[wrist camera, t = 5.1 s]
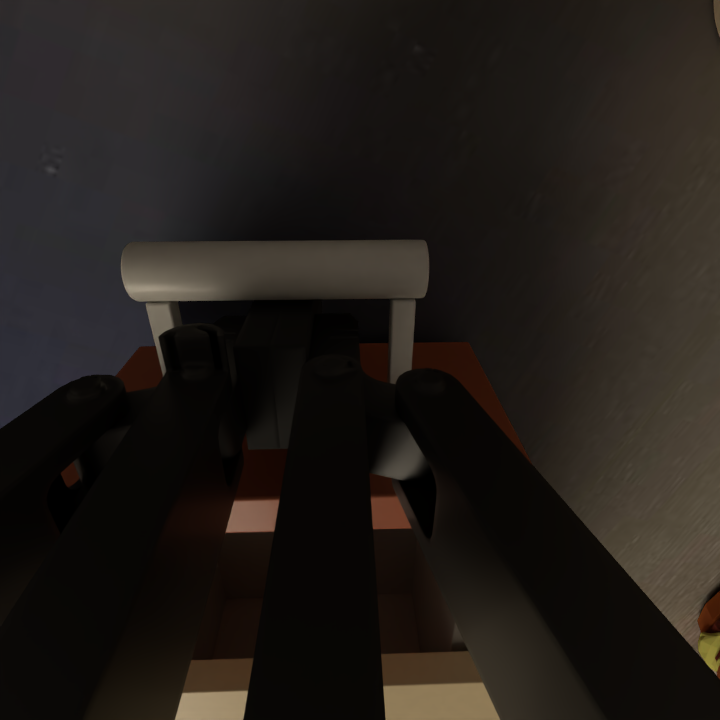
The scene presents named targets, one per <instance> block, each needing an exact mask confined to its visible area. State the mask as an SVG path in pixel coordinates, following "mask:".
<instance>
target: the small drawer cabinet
mask: <svg viewBox="0 0 720 720" xmlns="http://www.w3.org/2000/svg"><path fill="white" fill-rule="evenodd" d="M381 658H382V673H383V688H384V703H385V719H386V720H500V718H499V716H498V714H497V712H496V710H495V708H494V705H493V703H492V701H491V699H490V697H489V695H488V692H487V690H486V688H485V686H484V684H483V682H482V679H481V677H480V675H479V673H478V671H477V669H476V666H475V664H474V662H473V660H472V658H471V656H470V653H469V651H457V652H426V653H396V654H381ZM252 664H253V658H243V659H212V660H191V663H190V666H189V670H188V674H187V677H186V681H185V685H184V689H183V692H182V696H181V700H180V703H179V707H178V711H177V715H176V718H175V720H243V718H244V712H245V706H246V700H247V694H248V688H249V682H250V676H251V670H252Z"/></svg>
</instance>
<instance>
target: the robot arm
mask: <svg viewBox="0 0 720 720" xmlns="http://www.w3.org/2000/svg"><path fill="white" fill-rule="evenodd" d="M158 339H159V343H160V347H161V352H162V356H163V360H164V364H165V368H166V373H165V374H164V376H163V378H162V379H161V381H160V382H159V384H158V385H157V386H156V387H152V388H147V389H142V390H136V391H131V392H126V388H125V385H124V382H123V381H122V380H121V379H120V378H119V377H115V376H112V375H91V376H84V377H81V378H80V379H77V380H75V381H72V382H69V383H68V384H66V385H64V386H62V387H60V388H58V389H57V390H56V391H54V392H53V393H51V394H50V395H48V396H47V397H46V398H44V399H43V400H41V401H40V402H38V403H37V404H35V405H34V406H33V407H31V408H30V409H28V410H27V411H25V412H24V413H23V414H21V415H20V416H18V417H17V418H15V419H14V420H13V421H11V422H10V423H8V424H7V425H5V426H4V427H2V428H1V429H0V720H175V718H176V715H177V711H178V707H179V703H180V700H181V696H182V692H183V689H184V685H185V681H186V677H187V674H188V670H189V666H190V663H191V659H192V655H193V652H194V648H195V644H196V640H197V637H198V633H199V629H200V626H201V622H202V618H203V615H204V611H205V607H206V603H207V600H208V596H209V592H210V589H211V585H212V581H213V577H214V574H215V570H216V566H217V563H218V559H219V555H220V552H221V548H222V544H223V540H224V537H225V533H226V529H227V526H228V522H229V518H230V515H231V511H232V507H233V503H234V500H235V496H236V492H237V489H238V485H239V481H240V478H241V474H242V470H243V466H244V456H243V449H242V443H243V440H244V436H245V433H246V438H247V444H248V450H256V449H288V451H287V457H286V463H285V469H284V475H283V481H282V487H281V493H280V499H279V505H278V512H277V518H276V524H275V530H274V536H273V542H272V548H271V554H270V560H269V566H268V572H267V578H266V585H265V591H264V597H263V603H262V609H261V615H260V621H259V627H258V633H257V639H256V645H255V651H254V657H253V664H252V670H251V676H250V682H249V688H248V694H247V700H246V706H245V712H244V718H243V720H386V719H385V703H384V688H383V673H382V658H381V643H380V628H379V612H378V597H377V582H376V567H375V552H374V536H373V521H372V506H371V491H370V476H369V473H372V474H376V475H381V476H385V477H389V478H391V480H392V486H393V489H394V491H395V493H396V495H397V497H398V500H399V502H400V504H401V506H402V508H403V510H404V513H405V515H406V517H407V519H408V521H409V523H410V526H411V528H412V530H413V532H414V534H415V536H416V539H417V541H418V543H419V545H420V547H421V549H422V552H423V554H424V556H425V558H426V560H427V562H428V565H429V567H430V569H431V571H432V573H433V575H434V578H435V580H436V582H437V584H438V586H439V588H440V591H441V593H442V595H443V597H444V599H445V601H446V604H447V606H448V608H449V610H450V612H451V614H452V617H453V619H454V621H455V623H456V625H457V627H458V630H459V632H460V634H461V636H462V638H463V640H464V643H465V645H466V647H467V649H468V651H469V653H470V656H471V658H472V660H473V662H474V664H475V666H476V669H477V671H478V673H479V675H480V677H481V679H482V682H483V684H484V686H485V688H486V690H487V692H488V695H489V697H490V699H491V701H492V703H493V705H494V708H495V710H496V712H497V714H498V716H499V718H500V720H720V679H719V678H718V677H717V676H716V674H715V673H714V672H713V671H712V670H711V669H710V667H709V666H708V665H707V664H706V663H705V662H704V661H703V659H702V658H701V657H700V656H699V655H698V654H697V653H696V651H695V650H694V649H693V648H692V647H691V646H690V645H689V643H688V642H687V641H686V640H685V639H684V638H683V637H682V635H681V634H680V633H679V632H678V631H677V630H676V629H675V627H674V626H673V625H672V624H671V623H670V622H669V621H668V619H667V618H666V617H665V616H664V615H663V614H662V613H661V611H660V610H659V609H658V608H657V607H656V606H655V605H654V603H653V602H652V601H651V600H650V599H649V598H648V597H647V595H646V594H645V593H644V592H643V591H642V590H641V589H640V587H639V586H638V585H637V584H636V583H635V582H634V581H633V579H632V578H631V577H630V576H629V575H628V574H627V573H626V571H625V570H624V569H623V568H622V567H621V566H620V565H619V563H618V562H617V561H616V560H615V559H614V558H613V557H612V555H611V554H610V553H609V552H608V551H607V550H606V549H605V547H604V546H603V545H602V544H601V543H600V542H599V541H598V539H597V538H596V537H595V536H594V535H593V534H592V533H591V531H590V530H589V529H588V528H587V527H586V526H585V524H584V523H583V522H582V521H581V520H580V519H579V518H578V516H577V515H576V514H575V513H574V512H573V511H572V510H571V508H570V507H569V506H568V505H567V504H566V503H565V502H564V500H563V499H562V498H561V497H560V496H559V495H558V494H557V492H556V491H555V490H554V489H553V488H552V487H551V486H550V484H549V483H548V482H547V481H546V480H545V479H544V478H543V476H542V475H541V474H540V473H539V472H538V471H537V470H536V468H535V467H534V466H533V465H532V464H531V463H530V462H529V460H528V459H527V458H526V457H525V456H524V455H523V454H522V452H521V451H520V450H519V449H518V448H517V447H516V446H515V444H514V443H513V442H512V441H511V440H510V439H509V438H508V436H507V435H506V434H505V433H504V432H503V431H502V430H501V428H500V427H499V426H498V425H497V424H496V423H495V422H494V420H493V419H492V418H491V417H490V416H489V415H488V414H487V412H486V411H485V410H484V409H483V408H482V407H481V406H480V404H479V403H478V402H477V401H476V400H475V399H474V398H473V396H472V395H471V394H470V393H469V392H468V391H467V390H466V388H465V387H464V386H463V385H462V384H461V383H460V381H459V380H458V379H456V378H455V377H454V376H452V375H451V374H449V373H446V372H444V371H441V370H438V369H432V368H421V369H413V370H409V371H406V372H404V373H403V374H401V375H400V376H399V377H398V379H397V381H396V384H392V383H387V382H383V381H379V380H376V379H374V378H372V377H370V376H369V375H367V374H366V373H365V372H364V371H363V369H362V366H361V361H360V346H359V331H358V321H357V320H356V319H355V318H354V317H353V316H352V315H351V314H350V313H340V314H322V302H321V299H311V300H254V302H253V304H252V306H251V308H250V310H249V313H248V315H247V316H224V317H223V318H221V319H220V320H218V321H217V322H215V323H214V324H207V323H194V324H185V325H181V326H177V327H174V328H172V329H169V330H167V331H165V332H163V333H162V334H161V335H160V336H159V337H158ZM72 462H73V463H74V466H75V468H76V471H77V473H78V476H79V479H78V480H77V481H76V482H75V483H74V484H73V485H71V486H70V487H67V486H66V485H65V482H64V480H63V478H62V475H61V472H62V471H64V470H65V469H66V468H67V467H68V466H69V465H70V464H71V463H72Z"/></svg>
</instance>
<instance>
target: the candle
mask: <svg viewBox="0 0 720 720" xmlns="http://www.w3.org/2000/svg"><path fill="white" fill-rule="evenodd" d="M714 16H715V23H716V27H717V30H718V34H719V36H720V0H714Z"/></svg>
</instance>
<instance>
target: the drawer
mask: <svg viewBox="0 0 720 720" xmlns="http://www.w3.org/2000/svg"><path fill="white" fill-rule="evenodd" d="M121 274H122V279H123V283H124V286H125V289H126V291H127V293H128V294H129V296H130V297H131V298H132V299H133V300H136V301H148V302H147V303H146V309H147V313H148V317H149V321H150V325H151V329H152V333H153V337H154V341H155V345H156V346H144V347H139V348H138V350H137V351H136V352H135V353H134V354H133V356H132V357H131V358H130V359H129V360H128V362H127V363H126V364H125V365H124V366H123V368H122V369H121V370H120V371H119V372H118V374H117V375H116V376H115V377H119V378H120V379H121V380H122V381H123V382H124V385H125V388H126V392H131V391H136V390H142V389H147V388H152V387H156V386H157V385H158V384H159V382H160V381H161V379H162V378H163V376H164V374H165V373H166V368H165V364H164V360H163V356H162V352H161V347H160V343H159V339H158V337H159V336H160V335H161V334H162V333H163V332H165V331H167V330H169V329H172V328H174V327H177V326H181V325H182V320H181V315H180V310H179V305H178V301H224V300H311V299H390V313H389V342H388V343H359V346H360V361H361V366H362V369H363V371H364V372H365V373H366V374H367V375H369V376H370V377H372V378H374V379H376V380H379V381H383V382H387V383H392V384H396V381H397V379H398V377H399V376H400V375H401V374H403V373H404V372H406V371H409V370H413V369H421V368H432V369H438V370H441V371H444V372H446V373H449V374H451V375H452V376H454V377H455V378H456V379H458V380H459V381H460V383H461V384H462V385H463V386H464V387H465V388H466V390H467V391H468V392H469V393H470V394H471V395H472V396H473V398H474V399H475V400H476V401H477V402H478V403H479V404H480V406H481V407H482V408H483V409H484V410H485V411H486V412H487V414H488V415H489V416H490V417H491V418H492V419H493V420H494V422H495V423H496V424H497V425H498V426H499V427H500V428H501V430H502V431H503V432H504V433H505V434H506V435H507V436H508V438H509V439H510V440H511V441H512V442H513V443H514V444H515V446H516V447H517V448H518V449H519V450H520V451H521V452H522V454H523V455H524V456H525V457H526V458H527V459H528V460H529V462H530V463H531V461H530V459H529V457H528V455H527V453H526V451H525V449H524V448H523V446H522V444H521V442H520V440H519V438H518V436H517V434H516V432H515V430H514V428H513V426H512V425H511V423H510V421H509V419H508V417H507V415H506V413H505V411H504V409H503V407H502V405H501V403H500V402H499V400H498V398H497V396H496V394H495V392H494V390H493V388H492V386H491V384H490V382H489V380H488V379H487V377H486V375H485V373H484V371H483V369H482V367H481V365H480V363H479V361H478V359H477V357H476V356H475V354H474V352H473V350H472V348H471V346H470V344H469V343H468V342H428V343H413V339H414V324H415V308H416V302H415V299H414V298H423V297H424V296H425V295H426V292H427V288H428V280H429V253H428V247H427V244H426V241H424V240H308V241H183V242H131V243H129V244H127V245H126V246H125V248H124V250H123V253H122V258H121ZM242 449H243V456H244V466H243V470H242V474H241V478H240V481H239V485H238V489H237V492H236V496H235V500H234V503H233V507H232V511H231V515H230V518H229V522H228V526H227V529H226V533H225V537H224V540H223V544H222V548H221V552H220V555H219V559H218V563H217V566H216V570H215V574H214V577H213V581H212V585H211V589H210V592H209V596H208V600H207V603H206V607H205V611H204V615H203V618H202V622H201V626H200V629H199V633H198V637H197V640H196V644H195V648H194V652H193V655H192V659H191V660H212V659H243V658H253V657H254V651H255V645H256V639H257V633H258V627H259V621H260V615H261V609H262V603H263V597H264V591H265V585H266V578H267V572H268V566H269V560H270V554H271V548H272V542H273V536H274V530H275V524H276V518H277V512H278V505H279V499H280V493H281V487H282V481H283V475H284V469H285V463H286V457H287V451H288V449H256V450H248V444H247V438H246V433H245V436H244V440H243V443H242ZM531 464H532V463H531ZM61 475H62V478H63V480H64V482H65V485H66V486H67V487H70V486H71V485H73V484H74V483H75V482H76V481H77V480H78V479H79V476H78V473H77V471H76V468H75V466H74V463H73V462H72V463H71V464H70V465H69V466H68V467H67V468H66V469H65V470H64V471H62V472H61ZM369 476H370V491H371V506H372V521H373V536H374V552H375V567H376V582H377V597H378V612H379V628H380V643H381V654H396V653H426V652H457V651H468V649H467V647H466V645H465V643H464V640H463V638H462V636H461V634H460V632H459V630H458V627H457V625H456V623H455V621H454V619H453V617H452V614H451V612H450V610H449V608H448V606H447V604H446V601H445V599H444V597H443V595H442V593H441V591H440V588H439V586H438V584H437V582H436V580H435V578H434V575H433V573H432V571H431V569H430V567H429V565H428V562H427V560H426V558H425V556H424V554H423V552H422V549H421V547H420V545H419V543H418V541H417V539H416V536H415V534H414V532H413V530H412V528H411V526H410V523H409V521H408V519H407V517H406V515H405V513H404V510H403V508H402V506H401V504H400V502H399V500H398V497H397V495H396V493H395V491H394V489H393V486H392V480H391V478H389V477H385V476H381V475H376V474H372V473H369Z"/></svg>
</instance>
